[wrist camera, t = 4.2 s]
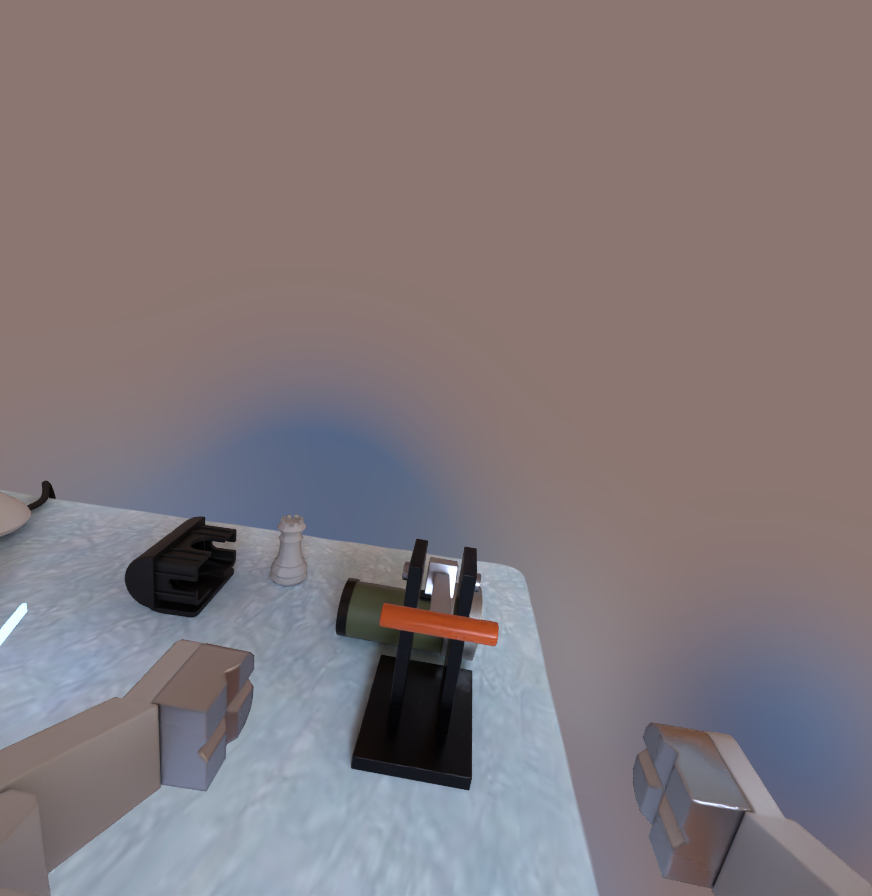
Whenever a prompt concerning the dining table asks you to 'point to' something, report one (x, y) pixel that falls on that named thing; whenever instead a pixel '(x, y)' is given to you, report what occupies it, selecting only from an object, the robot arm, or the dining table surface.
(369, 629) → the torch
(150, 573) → the end cap
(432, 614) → the switch lever
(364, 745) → the black lever stand
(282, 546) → the rook chess piece
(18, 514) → the flower in vase
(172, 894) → the dining table surface
